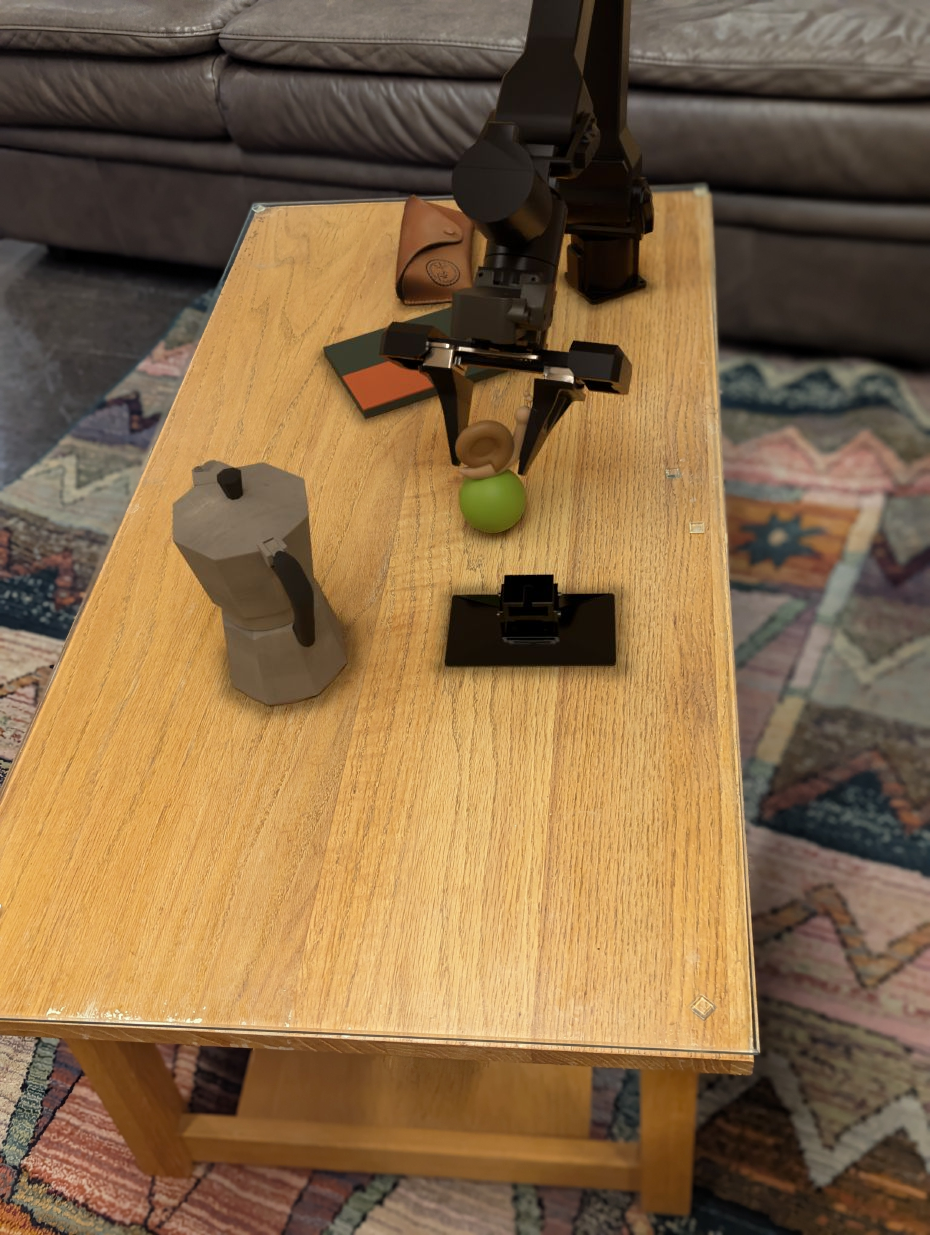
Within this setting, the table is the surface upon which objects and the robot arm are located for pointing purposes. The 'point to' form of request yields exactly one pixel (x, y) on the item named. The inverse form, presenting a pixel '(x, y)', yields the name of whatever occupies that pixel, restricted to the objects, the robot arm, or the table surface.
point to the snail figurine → (492, 472)
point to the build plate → (531, 627)
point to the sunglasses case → (432, 253)
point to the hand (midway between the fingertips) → (488, 470)
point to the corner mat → (388, 370)
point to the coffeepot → (261, 578)
